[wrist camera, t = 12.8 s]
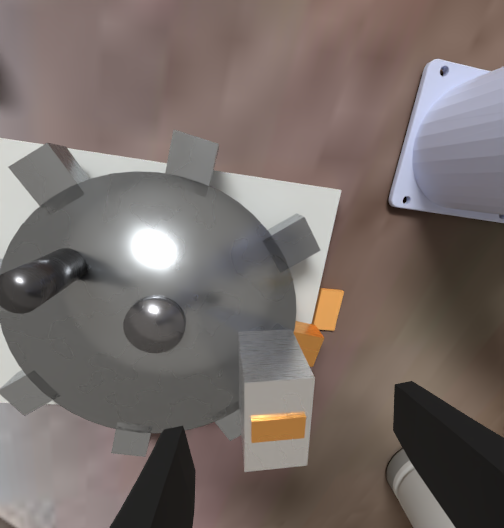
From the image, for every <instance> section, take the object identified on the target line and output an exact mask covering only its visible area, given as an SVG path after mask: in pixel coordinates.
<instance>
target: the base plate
mask: <svg viewBox="0 0 504 528" xmlns="http://www.w3.org/2000/svg"><path fill="white" fill-rule="evenodd" d="M41 146H43V144H37V143H30V142H24V141H17V140H11V139H4V138H0V258H1V259H3V258H4V255H5V253H6V251H7V248H8V246H9V244H10V242H11V240H12V239H13V237H14V236H15V234H16V232H17V231H18V229H19V228H20V226H21V225H22V224H23V223H24V222H25V221H26V219H27V218H28V217H29V216H30V215H31V214H32V213H33V212H34V211H35V210H36V209H37V208H38V207H40V206H39V205H38V203H37V202H36V201H35V200H34V199H33V197H32V196H31V195H30V194H29V192H28V191H27V190H26V189H25V187H24V186H23V185H22V184H21V182H20V181H19V180H18V179H17V178H16V176H15V175H14V174H13V173H12V171H11V170H10V169H9V168H8V167H9V166H10V165H12V164H14V163H15V162H17V161H18V160H20V159H22V158H23V157H25V156H27V155H28V154H30V153H31V152H33V151H35V150H36V149H38V148H39V147H41ZM67 149H68V150H69V151H70V153H71V154H72V155H73V157H74V158H75V160H76V161H77V162H78V164H79V165H80V167H81V168H82V169H83V171H84V172H85V173H86V175H87V176H88V178H89V179H91V178H95V177H99V176H104V175H108V174H112V173H123V172H134V171H139V172H160V173H165V172H166V167H167V163H161V162H155V161H148V160H141V159H135V158H128V157H122V156H115V155H109V154H102V153H96V152H89V151H83V150H76V149H70V148H67ZM210 186H212V187H214V188H216V189H218V190H221V191H222V192H224V193H226V194H227V195H229V196H230V197H232V198H233V199H235V200H237V201H238V202H239V203H240V204H242V205H243V206H244V207H245V208H246V209H248V210H249V211H250V212H251V213H252V214H253V215H254V216H255V217H256V218H257V219H258V220H259V221H260V222H261V224H262V225H263V226H264V227H265V228H266V229H267V230H268V229H270V228H272V227H273V226H275V225H277V224H279V223H280V222H282V221H284V220H286V219H288V218H289V217H291V216H293V215H295V214H296V213H297V214H299V215H302V216H304V217H305V219H306V221H307V223H308V225H309V227H310V229H311V231H312V233H313V235H314V237H315V239H316V241H317V244H318V246H319V248H320V250H321V251H319V252H317V253H315V254H313V255H312V256H310V257H308V258H306V259H305V260H303V261H301V262H299V263H297V264H296V265H294V266H292V267H290V268H289V270H290V272H291V275H292V278H293V283H294V289H295V294H296V321H299V322H303V323H308V324H311V323H312V324H313V325H316V326H317V328H318V329H319V330H333V331H334V329H335V325H336V321H337V317H338V314H339V310H340V306H341V302H342V298H343V294H344V291H343V290H336V289H326V288H320V283H321V279H322V274H323V270H324V265H325V261H326V257H327V252H328V248H329V243H330V239H331V234H332V230H333V225H334V221H335V217H336V212H337V208H338V203H339V199H340V194H341V190H337V189H331V188H324V187H318V186H311V185H305V184H298V183H292V182H285V181H279V180H272V179H266V178H259V177H253V176H246V175H239V174H233V173H226V172H220V171H213V175H212V179H211V183H210ZM319 288H320V291H319ZM318 292H319V296H318ZM317 296H318V300H317ZM316 301H317V305H316ZM315 305H316V309H315ZM314 310H315V313H314ZM313 314H314V318H313ZM312 319H313V322H312ZM21 370H22V369H21V368H20V366H19V365H18V363H17V362H16V360H15V358H14V356H13V355H12V353H11V351H10V350H9V347H8V345H7V342H6V340H5V338H4V335H3V332H2V328H1V324H0V388H1V387H2V386H3V385H4V384H5V383H6V382H8V381H9V380H10V379H11V378H12V377H13V376H14V375H15V374H16V373H17V372H19V371H21ZM0 403H9V402H8V401H7V400H6V399H5V398H4V397H2V396H1V395H0ZM47 404H57V403H56V402H54V401H53V400H52V401H51V402H49V403H47Z"/></svg>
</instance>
